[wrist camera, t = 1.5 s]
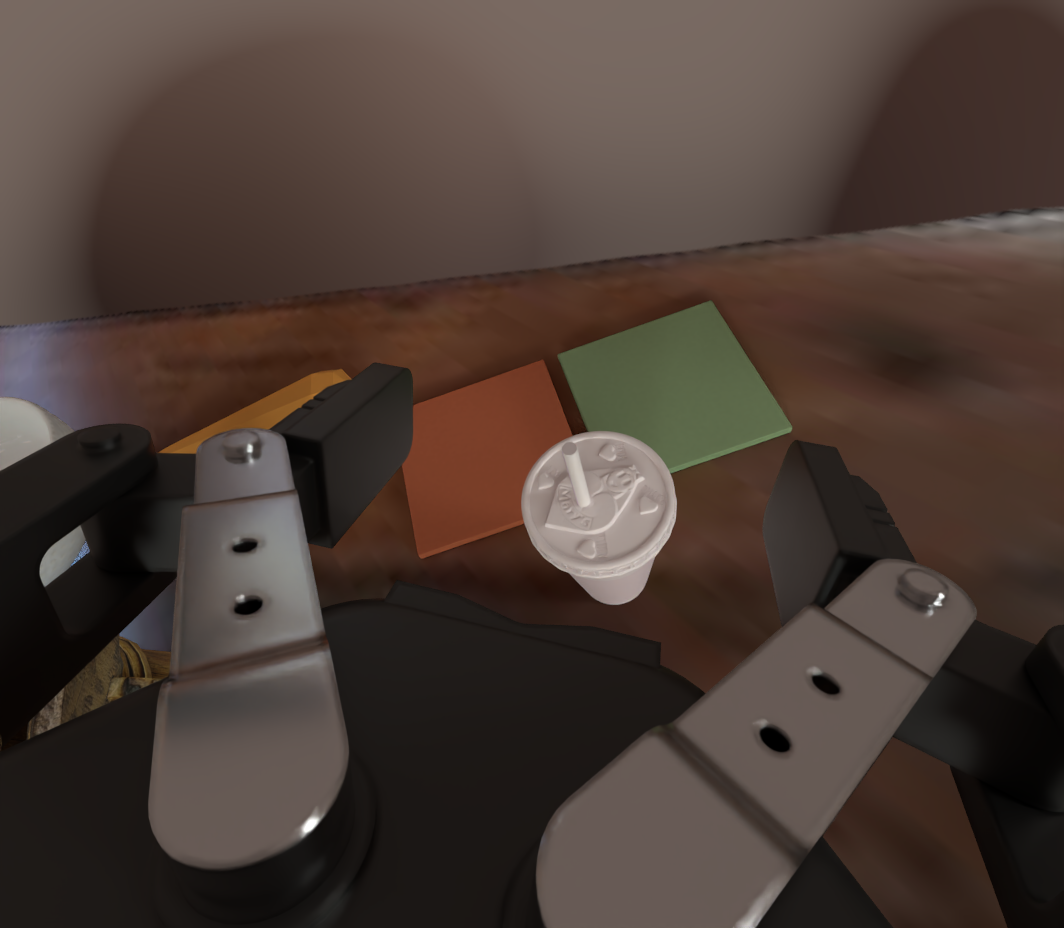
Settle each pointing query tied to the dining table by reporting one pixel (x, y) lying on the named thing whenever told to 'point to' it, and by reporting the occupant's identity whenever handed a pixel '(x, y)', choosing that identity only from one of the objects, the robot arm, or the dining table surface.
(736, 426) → the green mat
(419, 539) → the terracotta mat
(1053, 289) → the dining table surface
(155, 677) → the wooden mug
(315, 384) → the carrot
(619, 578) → the smoothie
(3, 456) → the cereal bowl
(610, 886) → the robot arm
